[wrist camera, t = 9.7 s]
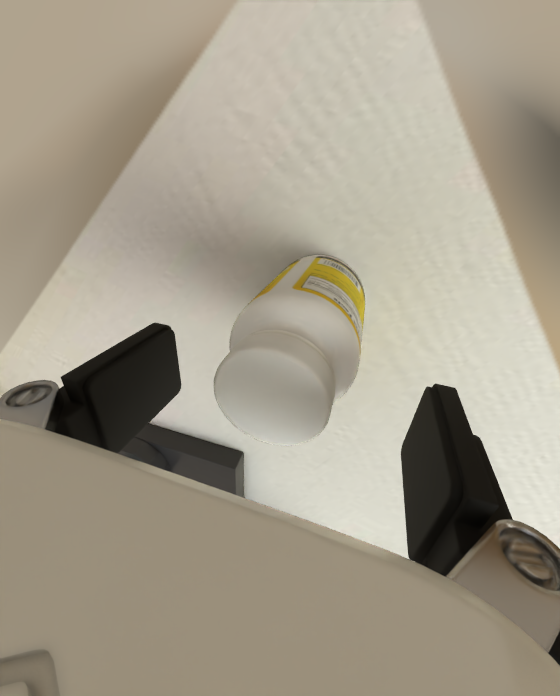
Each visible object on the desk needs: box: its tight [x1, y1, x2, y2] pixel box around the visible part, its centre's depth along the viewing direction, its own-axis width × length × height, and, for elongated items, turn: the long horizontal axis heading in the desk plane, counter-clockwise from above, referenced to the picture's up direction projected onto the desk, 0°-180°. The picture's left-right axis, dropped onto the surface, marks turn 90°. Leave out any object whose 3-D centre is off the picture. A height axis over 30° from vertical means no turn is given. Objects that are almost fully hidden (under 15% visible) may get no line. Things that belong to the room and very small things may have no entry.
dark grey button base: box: [117, 424, 244, 498], centre depth 31 cm, size 16×14×4 cm
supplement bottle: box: [214, 255, 365, 446], centre depth 13 cm, size 5×5×10 cm
